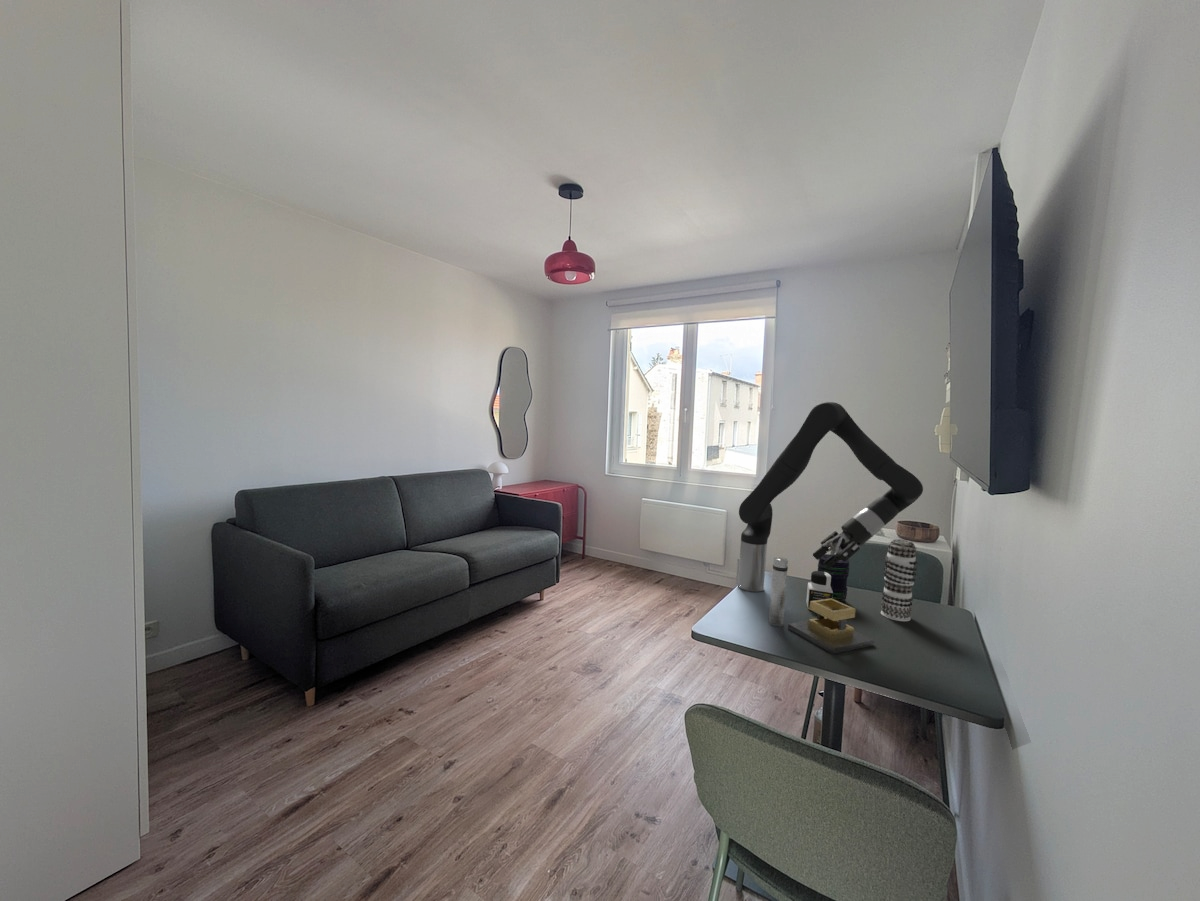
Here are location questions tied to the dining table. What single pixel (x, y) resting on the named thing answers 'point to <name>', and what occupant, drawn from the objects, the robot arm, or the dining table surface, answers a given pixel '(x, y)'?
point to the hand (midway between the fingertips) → (819, 561)
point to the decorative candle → (899, 580)
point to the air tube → (778, 591)
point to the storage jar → (836, 577)
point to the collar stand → (831, 627)
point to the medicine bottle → (819, 587)
